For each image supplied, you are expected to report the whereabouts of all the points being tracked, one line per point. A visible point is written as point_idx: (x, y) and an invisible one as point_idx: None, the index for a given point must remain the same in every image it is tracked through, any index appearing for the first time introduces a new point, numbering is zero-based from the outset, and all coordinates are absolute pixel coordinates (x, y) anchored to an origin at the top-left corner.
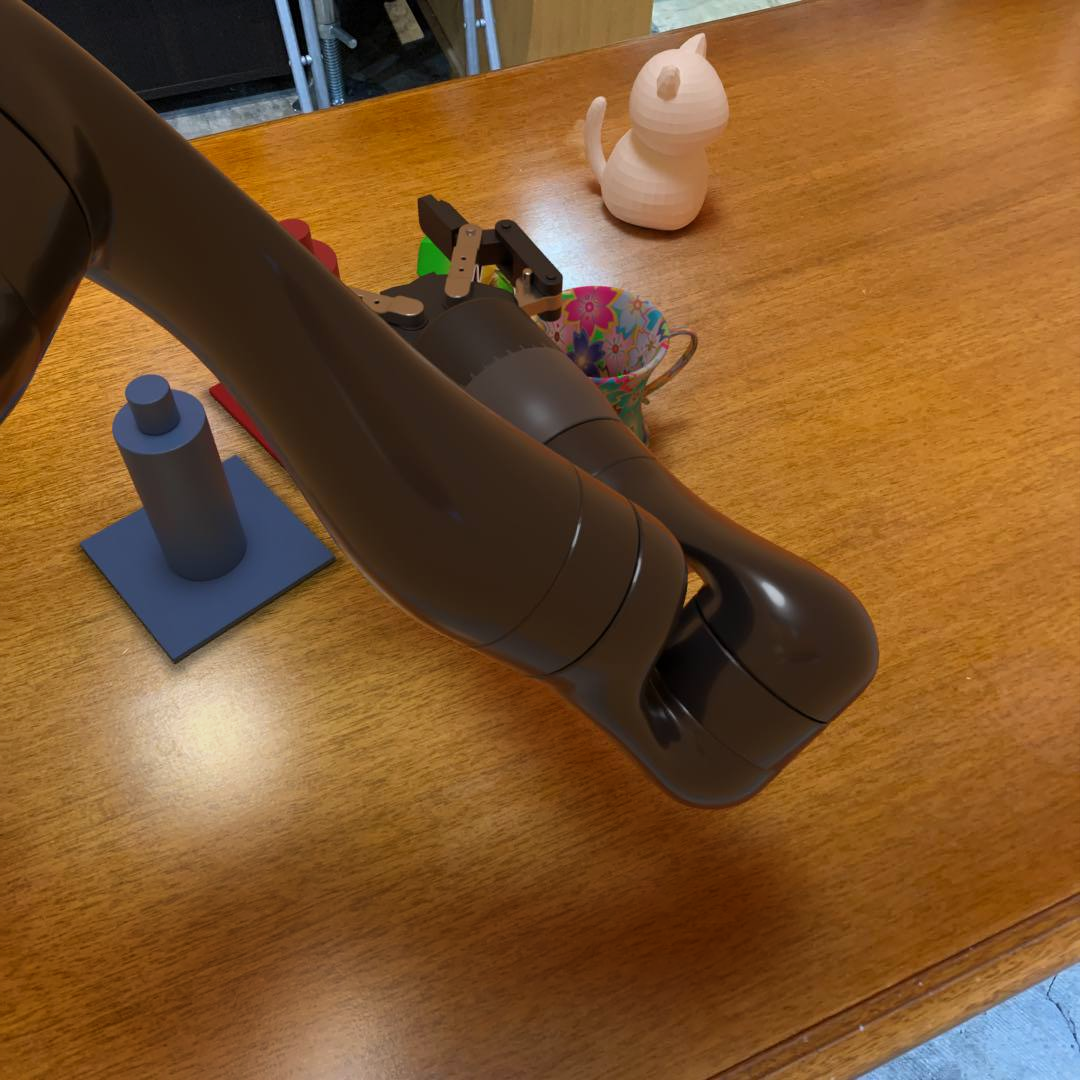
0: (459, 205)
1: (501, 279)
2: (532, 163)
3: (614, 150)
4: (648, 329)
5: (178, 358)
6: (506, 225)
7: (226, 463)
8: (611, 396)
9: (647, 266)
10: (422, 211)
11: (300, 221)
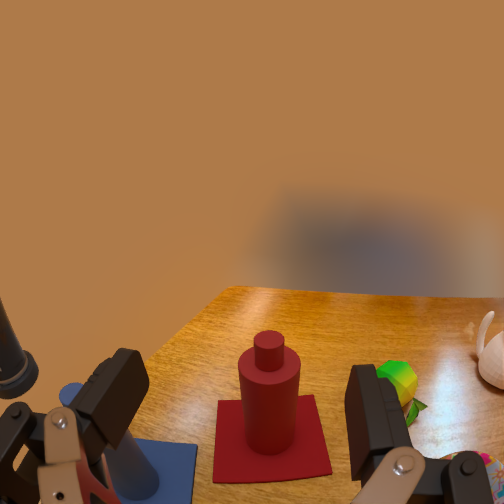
0: (408, 349)
1: (414, 404)
2: (448, 337)
3: (492, 341)
4: (497, 495)
5: (222, 376)
6: (469, 469)
7: (188, 445)
8: None
9: (490, 410)
10: (351, 385)
11: (281, 335)
